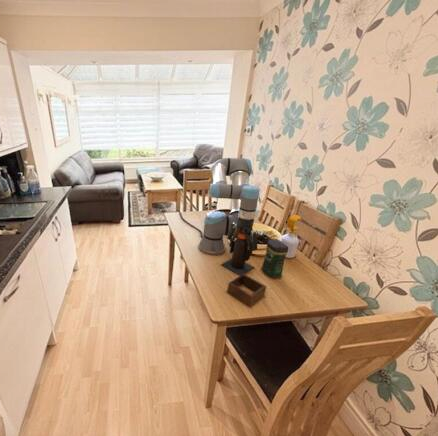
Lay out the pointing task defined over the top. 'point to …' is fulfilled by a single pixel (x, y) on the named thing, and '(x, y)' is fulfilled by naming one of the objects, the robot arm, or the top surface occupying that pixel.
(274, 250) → the coffee jar
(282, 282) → the top surface
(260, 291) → the box
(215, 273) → the top surface
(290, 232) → the soap bottle
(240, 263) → the vinegar
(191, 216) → the top surface
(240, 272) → the mat
